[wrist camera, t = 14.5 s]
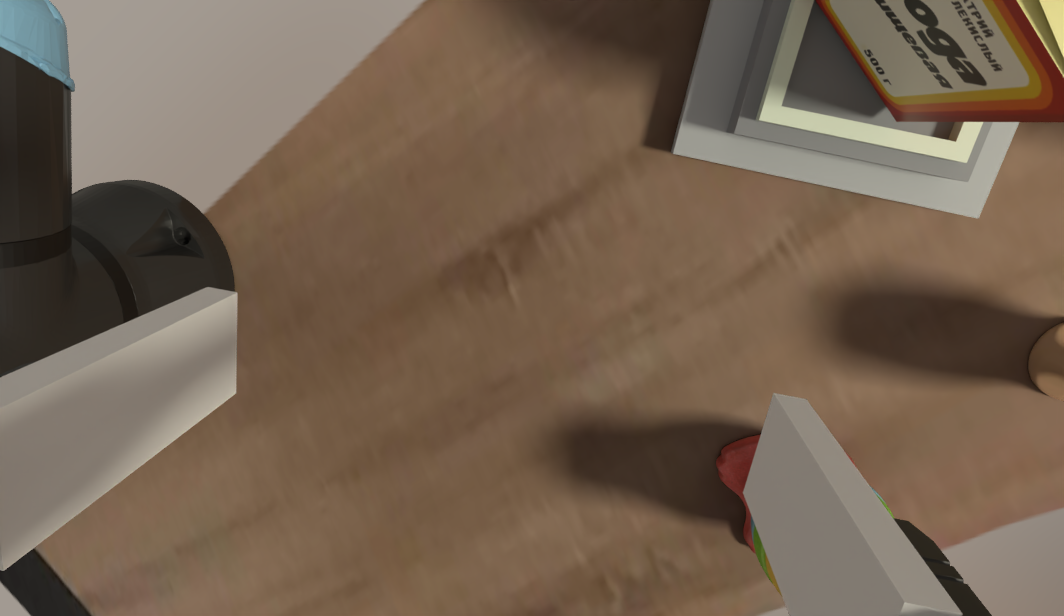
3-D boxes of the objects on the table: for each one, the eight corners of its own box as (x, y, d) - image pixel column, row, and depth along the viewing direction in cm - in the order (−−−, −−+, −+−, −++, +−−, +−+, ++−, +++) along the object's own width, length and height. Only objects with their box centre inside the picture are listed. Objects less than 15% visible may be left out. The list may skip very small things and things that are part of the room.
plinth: (670, 152, 44) (678, 157, 38) (758, -184, 38) (783, -238, 32) (962, 214, 42) (1015, 228, 37) (1102, -124, 36) (1192, -169, 31)
